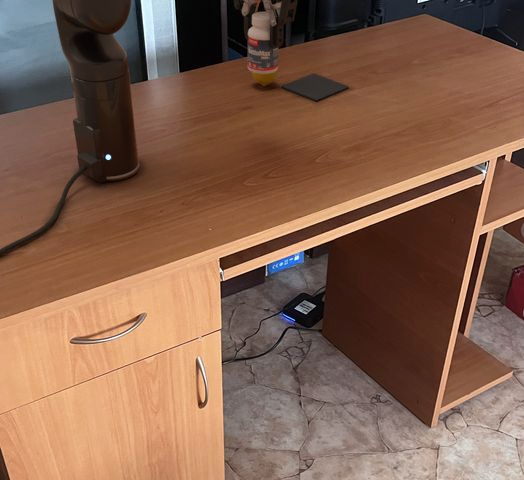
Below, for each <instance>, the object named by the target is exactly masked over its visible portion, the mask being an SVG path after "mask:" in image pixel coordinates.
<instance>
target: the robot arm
mask: <svg viewBox="0 0 524 480" xmlns="http://www.w3.org/2000/svg"><path fill="white" fill-rule="evenodd" d="M275 1H276V3H273V2H275ZM298 2H299V0H233V6H234V9H236V10H237V11H238V10H239V11H240V12H241V14H242V16H243V33H244V38H245V39H246V40H248V31H249V29H250V28H251V27H253V25H252V15H253V14H254V13H256V12H258V9H259V6H260V3H263V7H264V10H265V12H268V14H269V18H270V22H271V25H270V48H272V49H276V48H279V49H280V48H281V47H282V45H283V44H284V33H285V32H284V29H285V28H284V27H285V24H289V23H292V22H294V21H295V17H296V13H297V6H298ZM131 6H132V0H52V8H53V13H54V19H55V24H56V27H57V28H56V29H57V34H58V39H59V43H60V48H61V51H62V54H63V55H64V58H65V60H66V61H67V63H68V67H69V71H70V73H69V74H70V78H71V85H72V93H73V98H74V105H75V106H74V107H75V112H76V118H73V119H72V125H73V131H74V132H73V133H74V138H75V142H76V143H75V145H76V151H77V155H76V157H77V164H78V170H77V171H76V172H75V173H74V174H73V175H72V177H70V179H69V180H68V182H67V183H66V185H65V186H64V189H63V191H62V194H61V197H60V199H59V201H58V203H57V205H56V207H55V210H54V212H53V214H52V216H51V218H50V219H49V220H48V221H47V222H46V223H44V225H42V226H41V227H39V228H38V229H37V230H35V231H33V232H32V233H30V234H28V235H26V236H23V237H21V238H19V239H17V240H15V241H13V242H11V243H9V244H7V245H5V246H3V247H2V248H0V256H2V255H3V254H5V253H8V252H9V251H11V250H13V249H15V248H17V247H18V246H21V245H23V244H26V243H27V242H29V241H31V240H33V239H35V238H37V237H38V236H40V235H41V234H43V233H44V232H46V231H47V230H49V228H50V227H51V226H52V225H53V224H54V223H55V222H56V220H57V219H58V217H59V215H60V212H61V210H62V208H63V206H64V204H65V202H66V198H67V197H68V194H69V192H70V189H71V187H72V186H73V185H74V183H75V181H76V180H77V179H78V178H80V177H81V176H82V174H84V175H86V176H87V177H89V178H91V179H93V180H94V181H96V182H98V183H99V184H104V183H106V182H116V181H122V180H125V179H128V178H129V179H130V178H131V177H132V176H135V175H136V174H137V173H138V172H139V170H140V167H141V166H140V160H139V152H138V143H137V134H136V125H135V118H134V117H135V115H134V107H133V98H132V97H133V96H132V89H131V88H132V87H131V77H130V68H129V59H128V54H127V52H126V49H124V47H123V46H122V45H121V43H120V42H119V41H118V40H117V38H116V36H115V35H114V34H116V33H117V32H119V31H120V30H121V29H122V28H123V27H124V26H125V24H126V23H127V21H128V18H129V15H130V12H131V8H132V7H131Z"/></svg>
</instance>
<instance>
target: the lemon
mask: <svg viewBox="0 0 524 480" xmlns="http://www.w3.org/2000/svg"><path fill="white" fill-rule="evenodd" d="M278 71H279V68H278V69H277V70H276V71H275V72H273V73H270V74H257V73H253V72H251V76H252V78H253V80H254V81H255V82H256V83H258V84H259V85H260V84H261V86H262V87H266V86H268V85H269V84H271V83H272V82H274V80H275V79H276V78H277V75H278Z"/></svg>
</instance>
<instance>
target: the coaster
mask: <svg viewBox="0 0 524 480" xmlns="http://www.w3.org/2000/svg"><path fill="white" fill-rule="evenodd" d="M349 88H350V87H349V86H348V85H345V84H343V83H341V82H338V81H335V80H332V79H331V78H327V77H324V76H322V75H319V74H316V73H311V74H309V75H306V76H303V77H301V78H298V79H296V80H293V81H291V82H288V83H286V84H282V85H281V87H280V89H284V90H286V91H289V92H291V93H292V94H293V93H294V94H296V95H298V96H301V97H302V98H303V97H304V98H306V99H309V100H310V101H313V102H316V103H317V102H320V101H321V100H324V99H326V98H329V97H331V96H333V95H336V94H339V93H341V92H343V91H346V90H348V89H349Z"/></svg>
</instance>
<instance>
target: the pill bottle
mask: <svg viewBox="0 0 524 480" xmlns="http://www.w3.org/2000/svg"><path fill="white" fill-rule="evenodd" d="M252 25H253V27H251V28H250V29H249V31H248V39H247V70H249V72H251V73H252V72H253V73H257V74H270V73H273V72H275V71H276V70H277V69H278V70H279V56H280V55H279V54H280V47H279V48H276V49H272V48H270V25H271V22H270V18H269V14H268V12H267V11H257V12H256V13H254V14H253V15H252Z"/></svg>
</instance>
